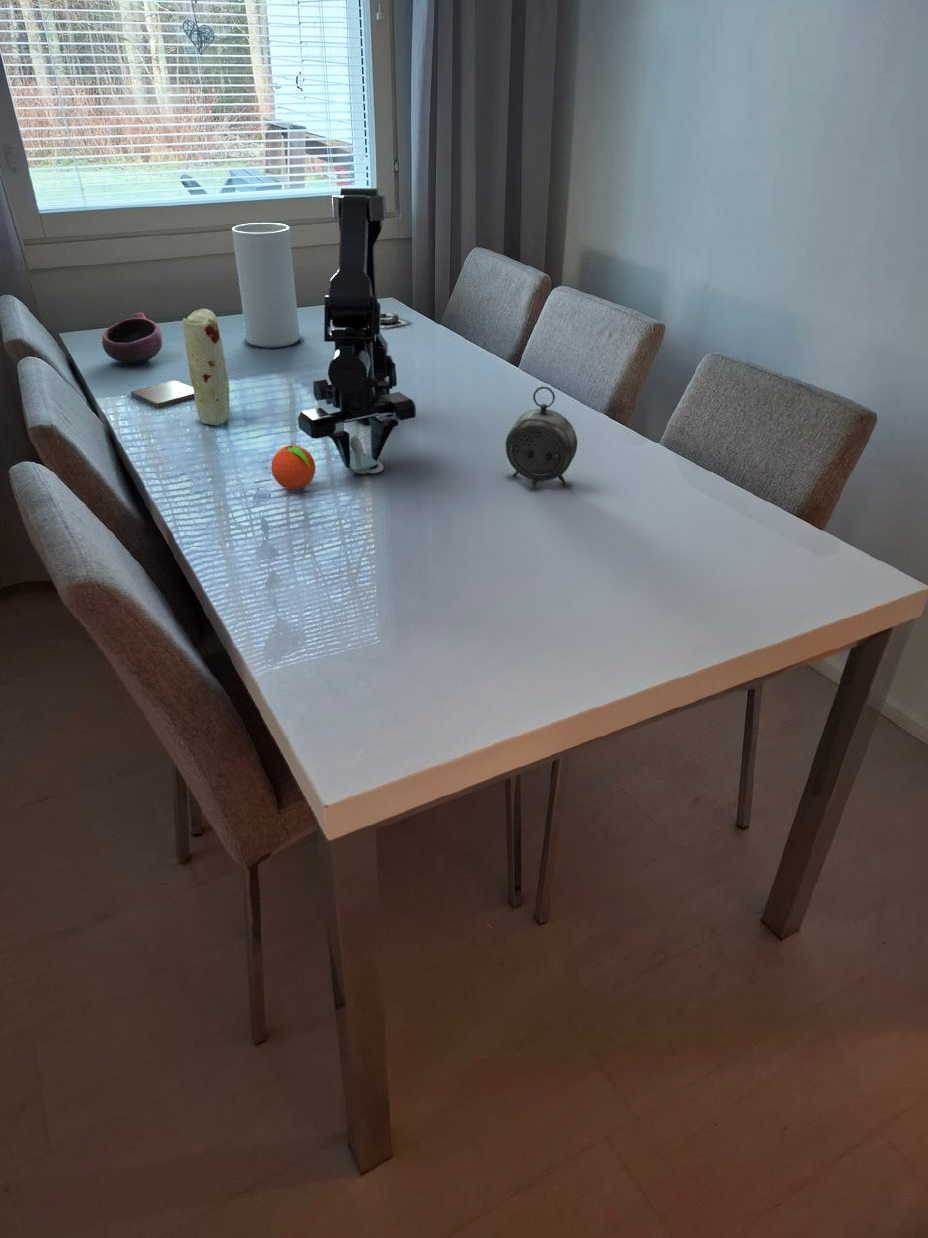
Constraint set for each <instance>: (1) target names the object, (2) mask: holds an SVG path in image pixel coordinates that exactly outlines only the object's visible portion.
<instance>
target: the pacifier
mask: <svg viewBox="0 0 928 1238" xmlns="http://www.w3.org/2000/svg"><path fill="white" fill-rule="evenodd" d="M375 466H376V467H375ZM373 467H375V468H373ZM349 468H350V469H351V471H353V472H354V473H356V474H360V475H364V474H379V473H381V472H382V471H383V470H384V464H383V463H382V462H380V461H379V459H378V460H377V461H376V460H374V459H373V458H372V456H370V455H369V454H367V453H365V452H364V447H363V444H362V442H361V440H360V439H359V437H358V436H357V435H355V434H354V435H352V436H351V437H350V467H349Z"/></svg>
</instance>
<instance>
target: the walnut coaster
mask: <svg viewBox="0 0 928 1238" xmlns="http://www.w3.org/2000/svg"><path fill="white" fill-rule="evenodd" d="M130 395H131V397H132V398H134V399H136V400H139V401H141V402H143V403H145V404H147V405H150V406H152V407H154V408H156V409H161V408H165V407H168V406H171V405H175V404H178V403H181V402H182V403H183V402H185V401H189V400H192V399H195V397H194V392H193V387H192V386H190V385H188V384H185V383H183V382H180V381H178V380H175V379H173V380H169V381H166V382H162V383H157V384H155V385H150V386H148V387H143V388H139V389H136V390H132V391H130Z"/></svg>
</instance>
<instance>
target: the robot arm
mask: <svg viewBox="0 0 928 1238" xmlns="http://www.w3.org/2000/svg"><path fill="white" fill-rule="evenodd" d="M386 200H387V199H386V196H385V195H381V194H379V189H378V187H377V188H376V187H375V188H373V187H372V188H371V187H369V188H364V187H361V188H359V187H356V188H355V187H353V188H351V187H350V188H349V187H347V188H346V187H343V188H342V187H341V188H340V195H332V196H331V202H332V203H331V205H332V219H333V221H338V226H339V233H340V234H339V251H338V252H339V254H338V270H337V272H336V273H335V274H334V275H333V276H332V277H331V278H330V280H329V286H328V295H325V296H324V307H323V309H324V313H323V315H324V316H323V317H324V323H323V324H324V325H323V326H324V328H323V330H324V331H323V334H324V335H323V340H324V343H325V342H327V343H334V351H333V354H332V357H331V360H330V362H329V366H328V369H327V376H328V377H327V378H328V380H329V382H330V383H328V380H327V379H326V378H325V379H320V380H314V381H313V382H312V387H313V389H312V390H313V395H314V400H316V401H317V402H321V401H325V402H326V405H327V406H328V405H332V407H333V408H335V409H339V411H334V412H330V413H329V412H328V411H326V410H325V409H323V408H322V407H316V408H312V409H311V408H310V409H306V410H302V411H300V413H299V415H298V417H297V425H298V429H299V430H300V431H302V432H303V433H304V434H306V435H307V436H309V437H310V438H311V439H315V440H318V439H322V438H327V437H328V438H330V439H331V440H332V442H333V444H334V446H335V447H336V450H337V453H338V454H339V456H340V459H341V461H342V464H343V465H344V467H345V468H346V469H350V468H351V467H350V461H351V460H350V450H351V446H350V439H351V437H350V433H349V432H348V431H347V430H345V424H346V423H352V422H356V421H359V422H360V423H362V424H364V425H369V426H370V441H371V442H370V451H371V457H372V458H373V459H374V460H376V461H377V460H378V461H379V458H380V456H381V453H382V451H383V449H384V447H385V445H386V443H387V441H388V438H389V437H390V435H391V433H392V431H393V430H394V429H395V427H398V426H399V423H400V422H399V421H398V420H396V419H395V418H398V419H399V420H400V421H405V420H409V419H413V418H416V416H417V409H416V408H417V407H416V403H415V402H414V400H412V399H411V398H410V397H408V396H407V395H405V394H403V393H401V392H400V391H396V392H392V393H391V390H393V388H394V387H397V386H398V380H397V378H398V377H397V368H396V366H397V365H396V363H395V362H394V360H393V357H392V355H389V345H388V342H387V341H386V339H385V338H384V336H383V334H382V333H381V328H380V314H381V303H380V302H379V301H378V291H377V290H378V289H377V288H378V287H377V272H376V271H377V269H376V267H377V266H376V248H375V247H376V246H375V245H376V242H377V240H378V238H379V236H380V234H381V232H382V229H383V226H384V221H385V220H386V219H387V205H386V204H387V201H386ZM331 326H333V329H331Z"/></svg>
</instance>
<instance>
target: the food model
mask: <svg viewBox="0 0 928 1238" xmlns="http://www.w3.org/2000/svg"><path fill="white" fill-rule="evenodd" d="M182 330H183V336H184V342H185V350H186V356H187V365H188V372H189V377H190V382H191V387H192V388H193V392H194V397H195V398H194V401H195V407H196V411H197V416H198V418H199V420H200V422H201V423H202V424H203V425H212V426H218V425H223V424H225V423H226V422H227V421H228V419H229V417H230V411H231V405H230V383H229V382H230V381H229V375H228V369H227V362H226V357H225V351H224V345H223V339H222V336H221V332H220V326H219V323H218V319H217V316H216V314H215V312H213V311H212V310H209V309H208V308H200V309H196V310H193V312H192V313H190V315H188V316H187V318H185V317H183V319H182Z"/></svg>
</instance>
